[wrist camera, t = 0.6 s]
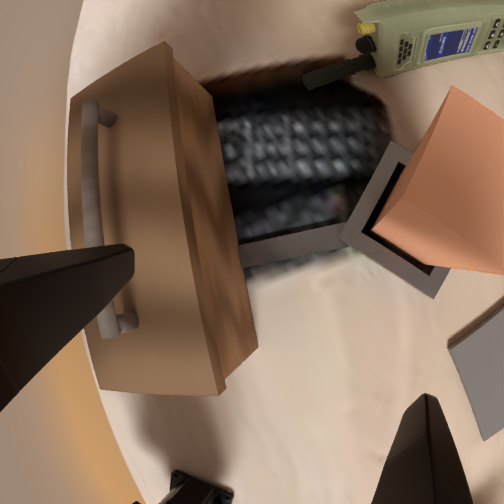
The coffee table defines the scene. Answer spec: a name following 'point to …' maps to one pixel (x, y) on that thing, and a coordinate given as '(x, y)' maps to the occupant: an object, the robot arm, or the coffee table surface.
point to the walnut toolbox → (159, 229)
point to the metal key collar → (352, 235)
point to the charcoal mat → (483, 371)
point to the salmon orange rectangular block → (451, 192)
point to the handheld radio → (418, 36)
